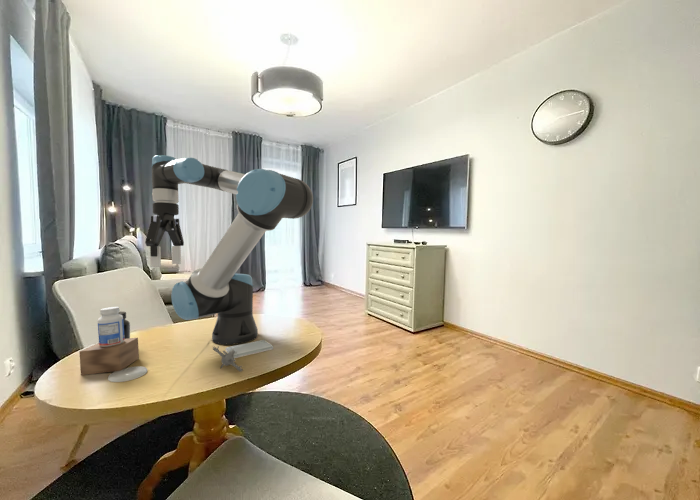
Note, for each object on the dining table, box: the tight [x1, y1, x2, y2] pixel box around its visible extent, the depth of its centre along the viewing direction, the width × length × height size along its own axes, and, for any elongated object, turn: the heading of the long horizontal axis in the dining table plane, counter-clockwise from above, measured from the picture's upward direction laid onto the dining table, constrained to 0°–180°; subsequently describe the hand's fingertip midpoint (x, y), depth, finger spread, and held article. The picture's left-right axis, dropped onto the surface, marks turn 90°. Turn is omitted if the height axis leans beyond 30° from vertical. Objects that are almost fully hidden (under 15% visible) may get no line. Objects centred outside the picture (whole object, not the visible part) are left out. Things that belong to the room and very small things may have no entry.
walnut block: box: [78, 337, 140, 376], centre depth 80 cm, size 9×9×6 cm
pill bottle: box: [97, 306, 125, 347], centre depth 80 cm, size 6×5×10 cm
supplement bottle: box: [119, 311, 131, 339], centre depth 91 cm, size 7×7×12 cm
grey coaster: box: [107, 365, 148, 383], centre depth 75 cm, size 8×8×1 cm
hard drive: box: [224, 339, 274, 359], centre depth 94 cm, size 2×8×12 cm
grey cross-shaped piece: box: [212, 346, 243, 373], centre depth 80 cm, size 10×6×9 cm
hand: (166, 265), depth 101 cm, fingers open, 13 cm apart
